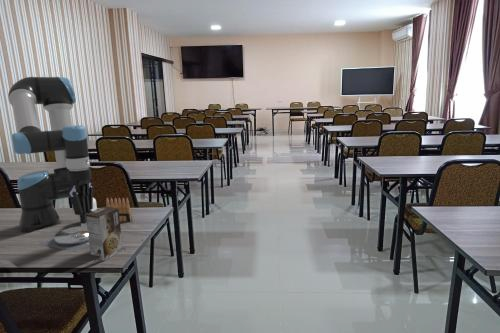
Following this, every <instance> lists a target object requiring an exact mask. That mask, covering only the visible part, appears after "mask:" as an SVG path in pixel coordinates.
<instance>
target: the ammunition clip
mask: <svg viewBox="0 0 500 333" xmlns="http://www.w3.org/2000/svg"><path fill="white" fill-rule="evenodd" d="M125 199H126V200H125ZM106 206H107V207H113V208H118V210H119V219H120V222H126V223H130V224H133V217H132V212H131V206H130V201H129V198H128V197H126V198H124V197H122V199H121V198H120V197H118V199H117V197H114V200H113V198H112V197H110V200H109V198H108V197H106Z"/></svg>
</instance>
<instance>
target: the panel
mask: <svg viewBox="0 0 500 333" xmlns="http://www.w3.org/2000/svg"><path fill="white" fill-rule="evenodd" d="M38 245H39V246H46V247H50V248H55V249H60V250H66V251H71V252H77V251H79V250H81V249H83V248H85V247H87V246H90V245H89V241H87V242H85V243H81V244H77V245H71V246H61V245H57V244H56V243H55V238H54V237H53V238H50V239H48V240H46V241H43V242H41V243H39V244H38Z"/></svg>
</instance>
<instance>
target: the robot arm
mask: <svg viewBox="0 0 500 333" xmlns="http://www.w3.org/2000/svg"><path fill="white" fill-rule="evenodd" d="M7 97H8V102H9V104H10V105H11V107H12V108H13V114H14V120H15V125H16V131H17V132H15V133H14V132H13V133H12V134H11V138H12V145H13V146H12V147H13V150H14V153H15V154H16V155H23V154H25V155H26V154H27V155H29V154H37V153H38V154H40V153H46V152H54V156H55V162H56V166H54V168H53V172H52V173H50V172H49V171H48V170H38V171H37V170H36V171H33V172H29V173H26V174H24V175H21V176H19V178H18V179H17V191H18V195H19V201H20V210H21V214H20V219H19V224H18V226H19V231H21V232H25V233H32V232H36V231H40V230H43V229H48V228H51V227H53V226H56V225H57V226H58V225H60V223H61V219H60V215H59V214H58V212H57V210H56V208H55V206H54V202H53V201H55V200H62V199H69V198H70V199H69V200H70V202H71V205H72V209H73V211H74V215H76V216H79V220H80V226H81V227H82V231H88V229H87V221H86V214H88V213H90V212H92V211H91V209H93V198H94V188H95V183H93V182H92V183H91V182H90V179H92V171H91V169H92V168H90V167H91V163H90V162H91V161H90V156H89V155H90V154H89V145H88V134H87V130H86V126H84V125H77V124H76V125H73V122H72V115H71V110H72V108H73V107H74V106H73V104H75V103H76V99H77V98H76V92H75V90H74V86H73V84H72V81H71V80H70V79H69V78H67V77H59V76H26V77H24V78H20V79H19V80H17V81H16V82H15V83H14V84H12V86H11V87H10V88H9V91H8V94H7ZM36 105H43V109H44V110H46V111H47V114H48V119H49V124H50V130H45V131H44V130H43V131H42V128H41V127H42V126H41V123H40V120H39V115H38V112H37V107H36Z"/></svg>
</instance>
